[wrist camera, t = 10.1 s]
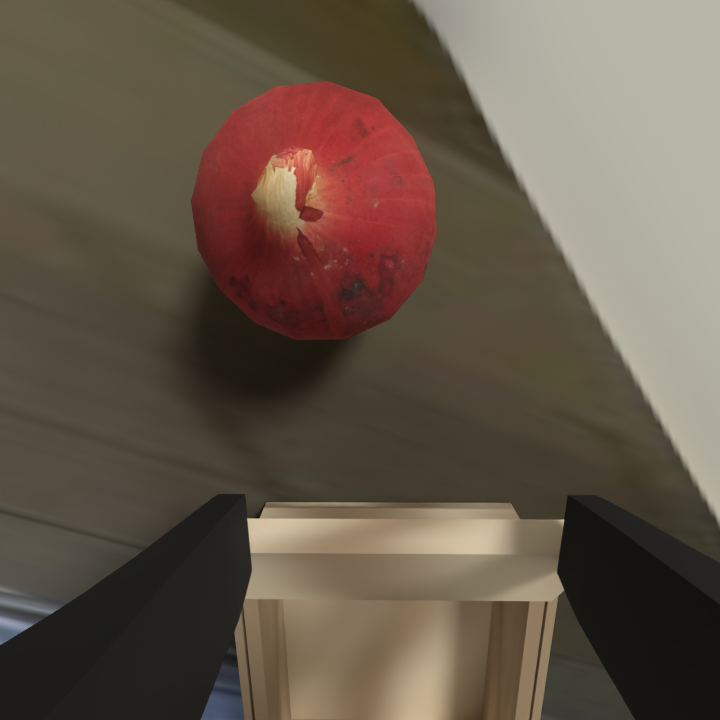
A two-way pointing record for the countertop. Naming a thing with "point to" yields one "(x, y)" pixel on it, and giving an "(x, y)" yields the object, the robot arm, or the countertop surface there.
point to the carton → (393, 644)
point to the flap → (405, 559)
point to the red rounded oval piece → (314, 211)
